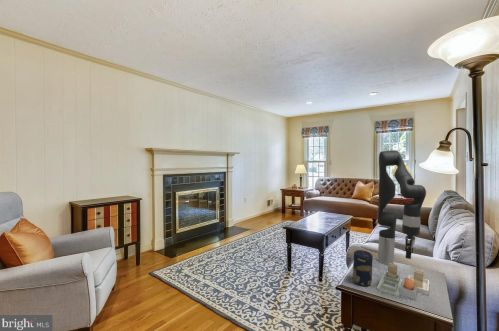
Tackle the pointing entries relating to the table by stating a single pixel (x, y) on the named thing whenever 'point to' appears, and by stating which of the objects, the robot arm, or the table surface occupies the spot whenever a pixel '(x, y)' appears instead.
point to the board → (390, 284)
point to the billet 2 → (418, 278)
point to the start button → (408, 283)
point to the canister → (362, 267)
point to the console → (408, 292)
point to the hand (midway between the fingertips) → (409, 255)
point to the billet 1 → (392, 271)
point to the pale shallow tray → (425, 287)
